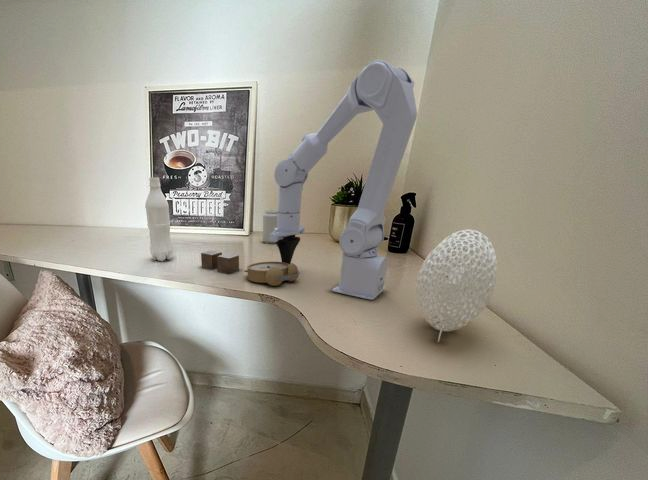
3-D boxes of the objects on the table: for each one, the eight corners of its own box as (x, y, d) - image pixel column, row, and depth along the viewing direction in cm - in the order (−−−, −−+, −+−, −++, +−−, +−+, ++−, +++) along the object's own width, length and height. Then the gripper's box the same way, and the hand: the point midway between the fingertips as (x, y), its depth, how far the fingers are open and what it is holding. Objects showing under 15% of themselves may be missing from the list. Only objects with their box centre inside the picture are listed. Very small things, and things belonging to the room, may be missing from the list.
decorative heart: (419, 308, 69) (438, 223, 62) (482, 321, 63) (511, 228, 56) (395, 341, 56) (417, 239, 49) (471, 361, 50) (508, 248, 43)
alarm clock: (268, 259, 95) (309, 260, 83) (270, 276, 96) (310, 280, 85) (237, 266, 89) (277, 268, 77) (239, 284, 90) (278, 289, 78)
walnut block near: (239, 270, 97) (239, 255, 95) (229, 273, 94) (229, 258, 92) (227, 267, 99) (227, 253, 98) (217, 271, 96) (217, 256, 94)
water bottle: (175, 260, 108) (168, 177, 98) (153, 263, 106) (143, 178, 96) (170, 255, 114) (163, 176, 104) (149, 258, 112) (140, 177, 102)
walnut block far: (222, 266, 101) (221, 252, 99) (212, 269, 98) (211, 255, 96) (211, 264, 103) (211, 250, 101) (201, 267, 100) (200, 252, 98)
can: (259, 240, 134) (260, 209, 129) (276, 239, 136) (277, 208, 131) (267, 244, 128) (268, 212, 123) (284, 243, 130) (286, 210, 125)
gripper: (290, 208, 93) (287, 256, 98) (259, 214, 83) (258, 267, 88) (313, 210, 89) (308, 260, 94) (284, 216, 79) (281, 271, 84)
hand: (286, 263), depth 91 cm, fingers closed
